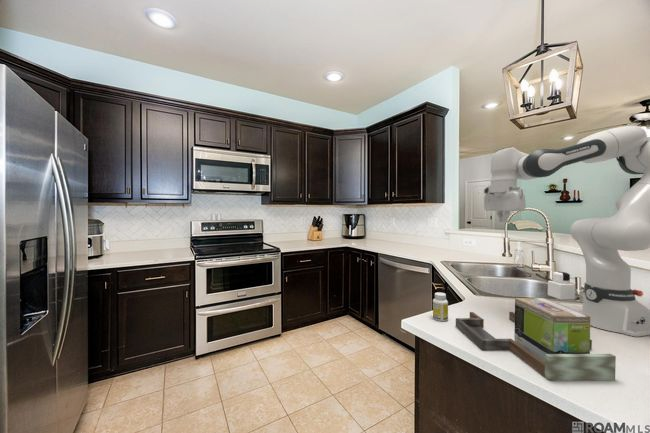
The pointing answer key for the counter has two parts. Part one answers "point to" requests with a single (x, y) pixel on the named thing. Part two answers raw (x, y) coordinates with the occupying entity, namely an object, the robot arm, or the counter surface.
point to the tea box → (550, 328)
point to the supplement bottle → (440, 307)
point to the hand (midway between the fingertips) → (503, 222)
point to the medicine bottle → (561, 286)
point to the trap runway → (555, 364)
